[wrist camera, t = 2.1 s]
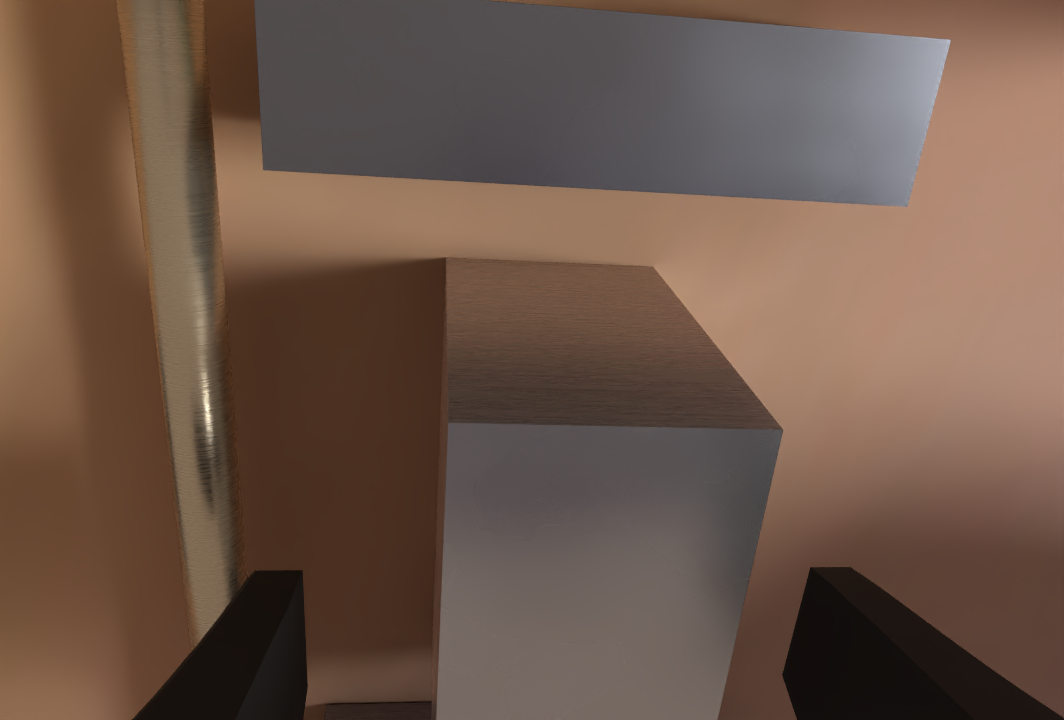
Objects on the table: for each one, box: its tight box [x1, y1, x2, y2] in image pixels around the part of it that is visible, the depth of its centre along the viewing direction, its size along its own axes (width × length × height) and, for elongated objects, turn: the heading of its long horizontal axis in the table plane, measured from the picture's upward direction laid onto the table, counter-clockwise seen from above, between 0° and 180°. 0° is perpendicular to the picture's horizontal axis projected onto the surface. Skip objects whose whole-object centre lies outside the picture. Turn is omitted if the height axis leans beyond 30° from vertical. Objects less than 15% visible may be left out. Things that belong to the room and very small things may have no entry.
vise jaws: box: [116, 0, 951, 720], centre depth 14 cm, size 10×16×4 cm, turn 175°
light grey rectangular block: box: [431, 258, 783, 720], centre depth 13 cm, size 4×8×6 cm, turn 175°
